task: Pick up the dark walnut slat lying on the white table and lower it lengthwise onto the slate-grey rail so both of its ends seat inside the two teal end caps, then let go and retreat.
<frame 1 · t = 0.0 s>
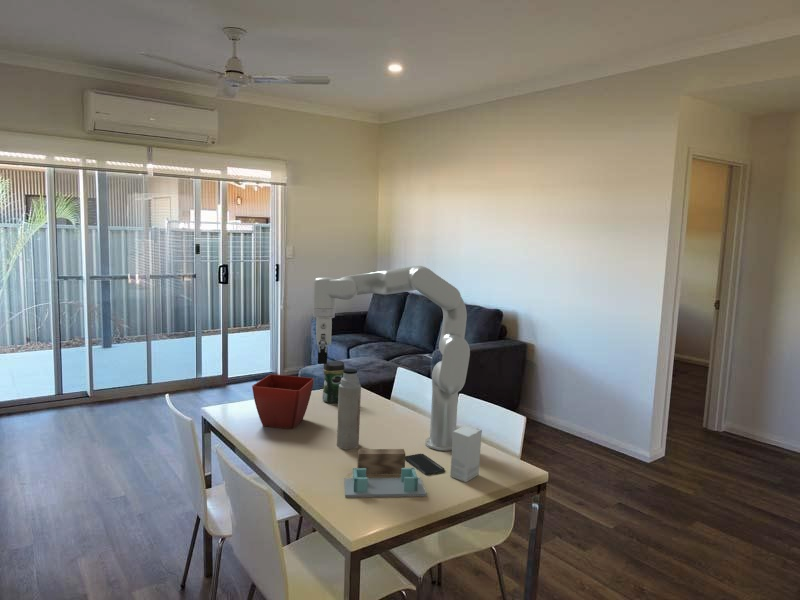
hand: (322, 360, 198), 31 cm above the table, fingers open, 9 cm apart
thermos bottle: (347, 445, 202), on the table
skincare box: (464, 476, 181), on the table
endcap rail: (384, 488, 169), on the table
slat: (380, 472, 181), on the table
coffee jar: (333, 401, 255), on the table
plant pot: (283, 423, 223), on the table
phone: (423, 466, 188), on the table
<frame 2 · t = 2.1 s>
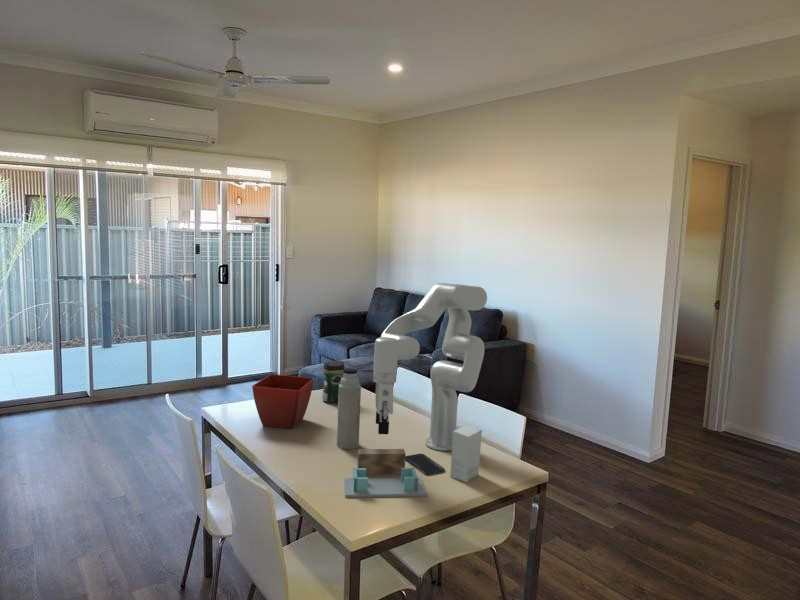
hand: (381, 428, 179), 15 cm above the table, fingers open, 9 cm apart
nothing on the table moved.
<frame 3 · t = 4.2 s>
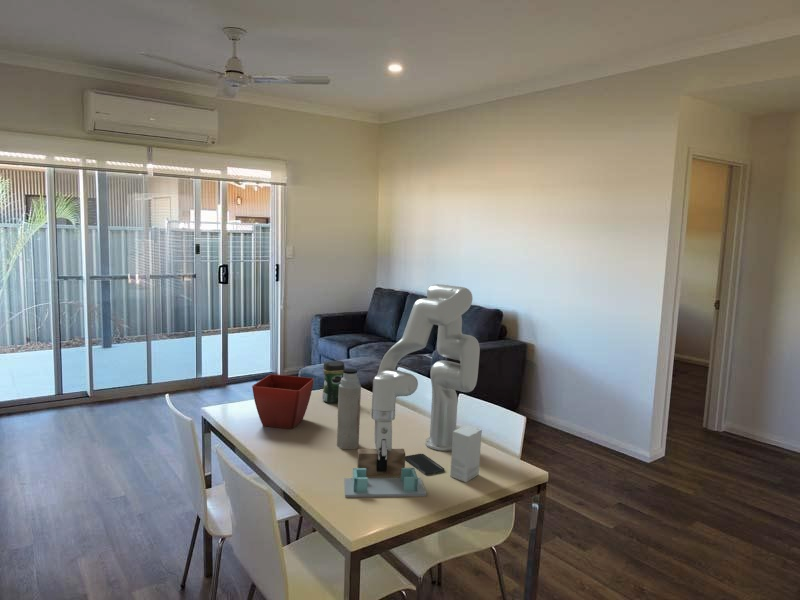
hand: (380, 467, 181), 1 cm above the table, fingers closed on slat, 4 cm apart
slat: (380, 471, 181), on the table, touching gripper
everything else where it was.
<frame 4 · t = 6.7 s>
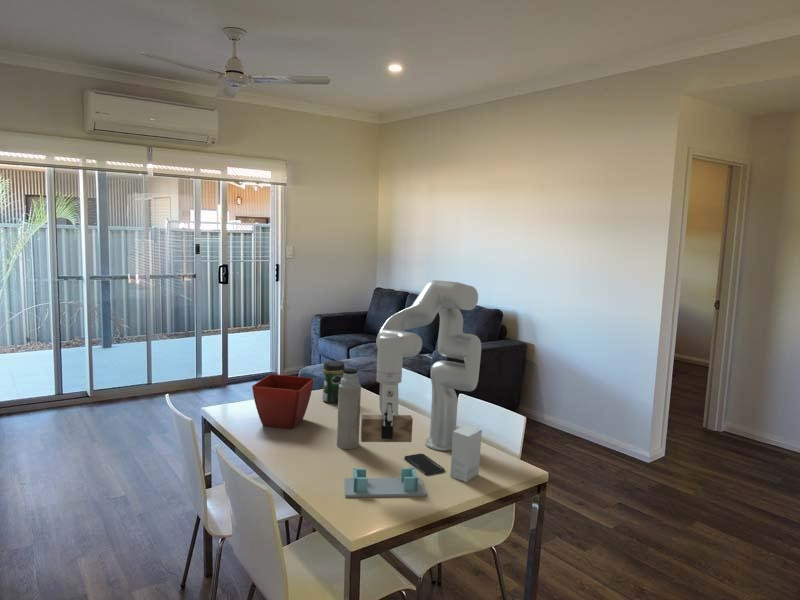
hand: (386, 435, 168), 17 cm above the table, fingers closed on slat, 4 cm apart
slat: (385, 439, 168), point 15 cm above the table, touching gripper
everything else where it was.
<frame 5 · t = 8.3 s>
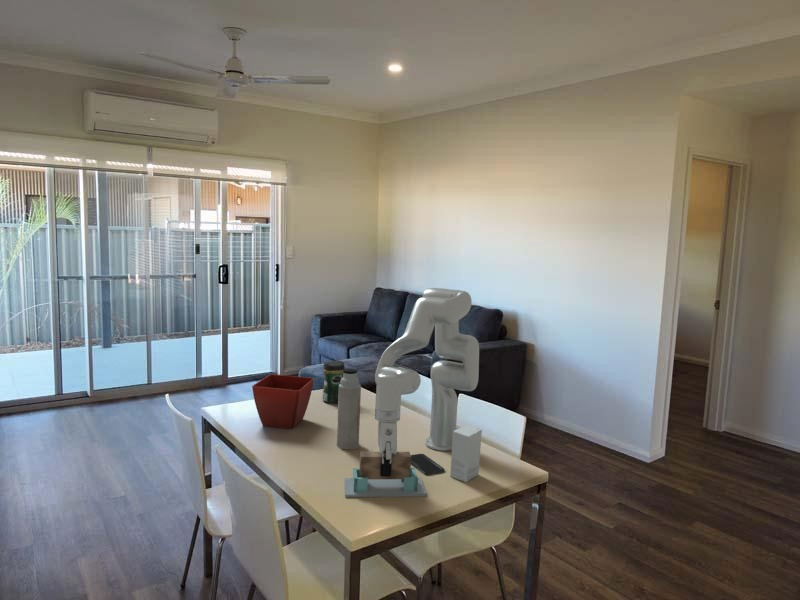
hand: (384, 472, 169), 5 cm above the table, fingers closed on slat, 4 cm apart
slat: (384, 476, 169), point 4 cm above the table, touching gripper
everything else where it was.
when the fingers open (4 cm above the table, at t = 9.3 s): slat drops 1 cm, resting on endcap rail.
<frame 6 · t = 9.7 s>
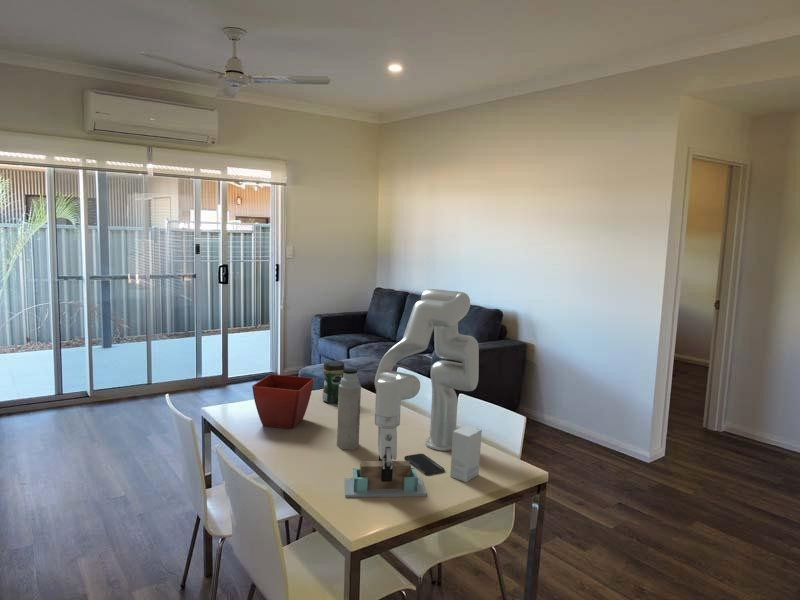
hand: (385, 474, 169), 4 cm above the table, fingers open, 8 cm apart
slat: (384, 485, 169), point 1 cm above the table, touching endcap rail
everything else where it was.
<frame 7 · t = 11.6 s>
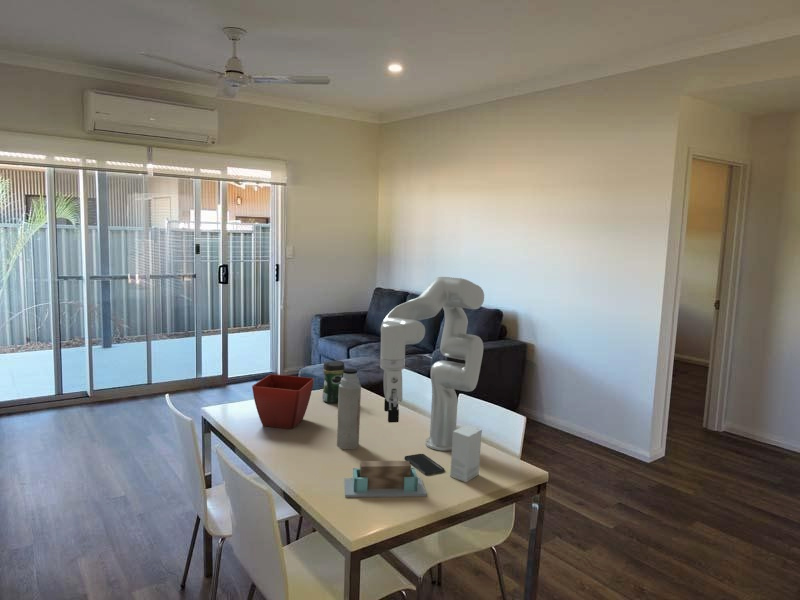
hand: (391, 416, 173), 20 cm above the table, fingers open, 9 cm apart
nothing on the table moved.
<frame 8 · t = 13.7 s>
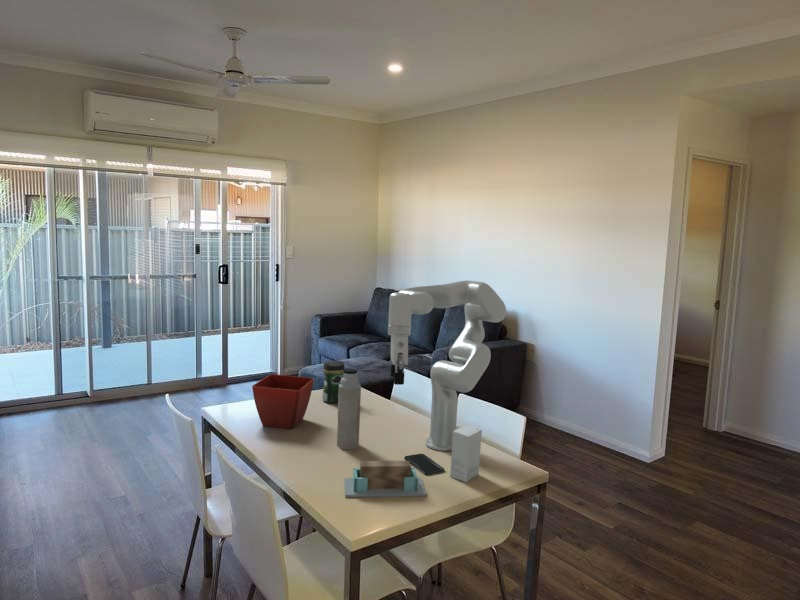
hand: (397, 380, 186), 28 cm above the table, fingers open, 9 cm apart
nothing on the table moved.
at the end: slat 0.1 cm off-centre on the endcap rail, point 0.8 cm above the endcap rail's base; slat tilted 0°; the gripper is holding nothing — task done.
